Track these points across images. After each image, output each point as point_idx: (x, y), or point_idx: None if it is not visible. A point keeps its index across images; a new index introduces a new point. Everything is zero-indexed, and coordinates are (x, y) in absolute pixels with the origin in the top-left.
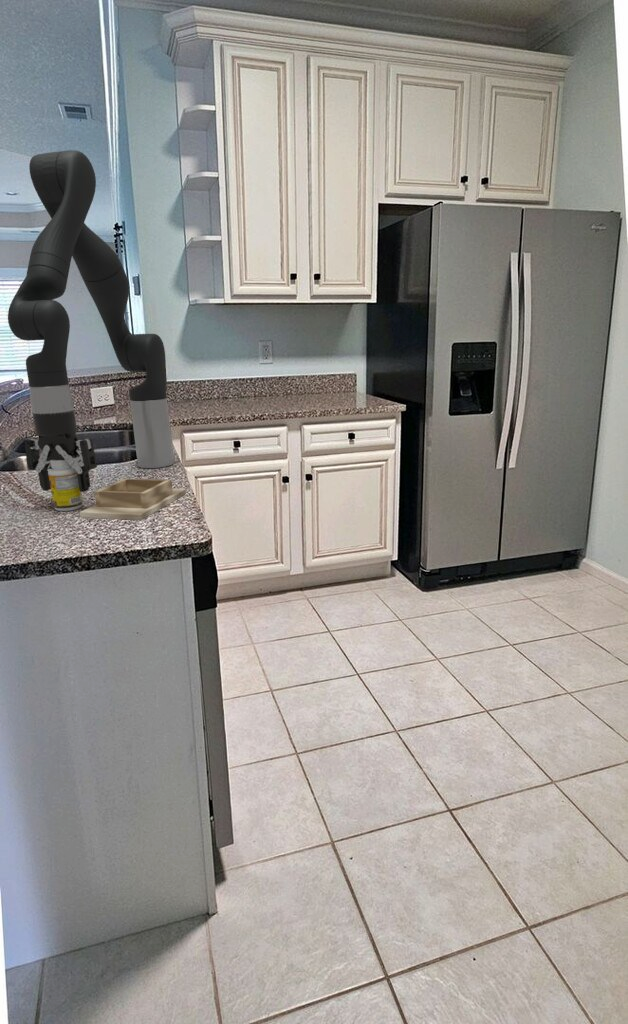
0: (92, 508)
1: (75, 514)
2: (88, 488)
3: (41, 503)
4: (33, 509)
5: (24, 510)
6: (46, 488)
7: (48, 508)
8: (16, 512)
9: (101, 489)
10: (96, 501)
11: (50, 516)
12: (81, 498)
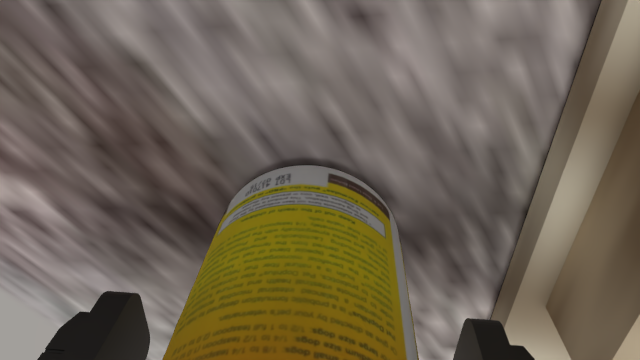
0: (533, 335)
1: (423, 323)
2: (498, 325)
3: (32, 148)
4: (108, 259)
5: (75, 275)
6: (143, 352)
7: (182, 241)
8: (67, 303)
9: (634, 348)
10: (565, 335)
11: None
12: (402, 257)
